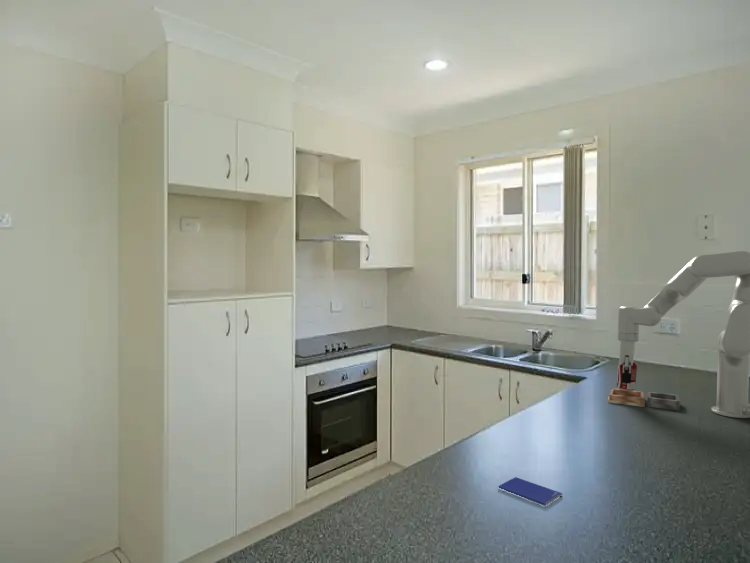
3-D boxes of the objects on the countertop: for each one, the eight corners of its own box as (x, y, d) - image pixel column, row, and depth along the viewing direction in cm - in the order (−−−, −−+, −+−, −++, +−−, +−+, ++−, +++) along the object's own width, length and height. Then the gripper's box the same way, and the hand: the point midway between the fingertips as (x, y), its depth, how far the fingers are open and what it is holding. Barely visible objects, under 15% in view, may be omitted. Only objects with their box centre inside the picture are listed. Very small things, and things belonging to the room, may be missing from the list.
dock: (677, 402, 202) (678, 394, 202) (679, 411, 191) (679, 402, 191) (609, 395, 214) (610, 386, 214) (607, 402, 203) (607, 393, 203)
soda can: (638, 392, 202) (640, 362, 201) (621, 391, 202) (623, 361, 201) (630, 387, 209) (632, 359, 208) (613, 387, 209) (615, 358, 208)
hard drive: (562, 492, 120) (516, 476, 129) (545, 503, 115) (498, 485, 124) (562, 498, 120) (516, 482, 130) (545, 510, 115) (498, 492, 124)
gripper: (618, 333, 214) (617, 375, 214) (616, 338, 198) (615, 384, 199) (638, 335, 210) (637, 377, 211) (638, 340, 195) (636, 386, 196)
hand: (626, 380), depth 205 cm, fingers closed on soda can, 6 cm apart
